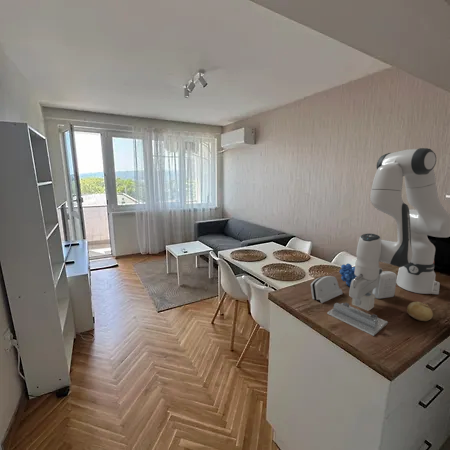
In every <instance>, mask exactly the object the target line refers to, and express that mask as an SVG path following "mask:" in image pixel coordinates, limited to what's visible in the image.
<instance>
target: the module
mask: <svg viewBox="0 0 450 450" xmlns="http://www.w3.org/2000/svg"><path fill="white" fill-rule="evenodd" d="M351 298H352V297H351ZM375 299H376V298H375V294H372V293H369V292H368V293H367V294H365V295H364V296H362V297H361V299H360V301H361V305H359V306H358V305H356V304H355V299H354V298H352V299H351V305H352V306H355V307H357V308H359V309H362V310H365V311H366V312H369V311H370V310H372V309H373V308H374V307H375Z"/></svg>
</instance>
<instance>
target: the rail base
mask: <svg viewBox="0 0 450 450" xmlns="http://www.w3.org/2000/svg"><path fill="white" fill-rule="evenodd" d="M327 315H329V316H331V317H333V318H335V319H337V320H339V321H341V322H344V323H346V324H347V325H350V326H352V327H353V328H356V329H358V330H360V331H362V332H363V333H367V334H368V335H371V336H373V337H374V336H375V335H377V334H378V333H379V332H380V331H381V330H382V329H383V328H384V327H385V326H386V325H388V323H389V322H388V321H387V320H385V319H382V318H380V317H378V315H377V314H375V313H372V314H370V313H367V311H366V312H365V311H363V310H360V309H358V308H356V307H353V306H351V305H350V303H348V302H342V303H340V302H336V303H334V304H333V308H332V309H330V310H329V311H327Z"/></svg>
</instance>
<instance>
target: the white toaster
mask: <svg viewBox="0 0 450 450" xmlns="http://www.w3.org/2000/svg"><path fill="white" fill-rule="evenodd" d="M342 290H343V289H341V288H340V286H339V281H338V280H337V277H336V276H333V275H324V276H320V277H317V278H315V279H314V280H313V281H312V282H311V283H310V291H311V298H312V300H316V301H317V300H318V301H320V303H321V304H323V303H326V302H328V301H329V300H331V299H334V298H336V297H338V296H340V295H343V291H342Z"/></svg>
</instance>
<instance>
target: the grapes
mask: <svg viewBox="0 0 450 450" xmlns="http://www.w3.org/2000/svg"><path fill="white" fill-rule="evenodd" d="M338 272H339V274H340V275H341V277H340V278H341V280H342V281H343V282H345V285H346V286H347V287H350V285H351V282H352V280H353V279H355V277H357V276H356V275H355V274H354V272H355V266H353V265H352V264H351V263H346V264H341V265H340V269H339V271H338Z"/></svg>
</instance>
